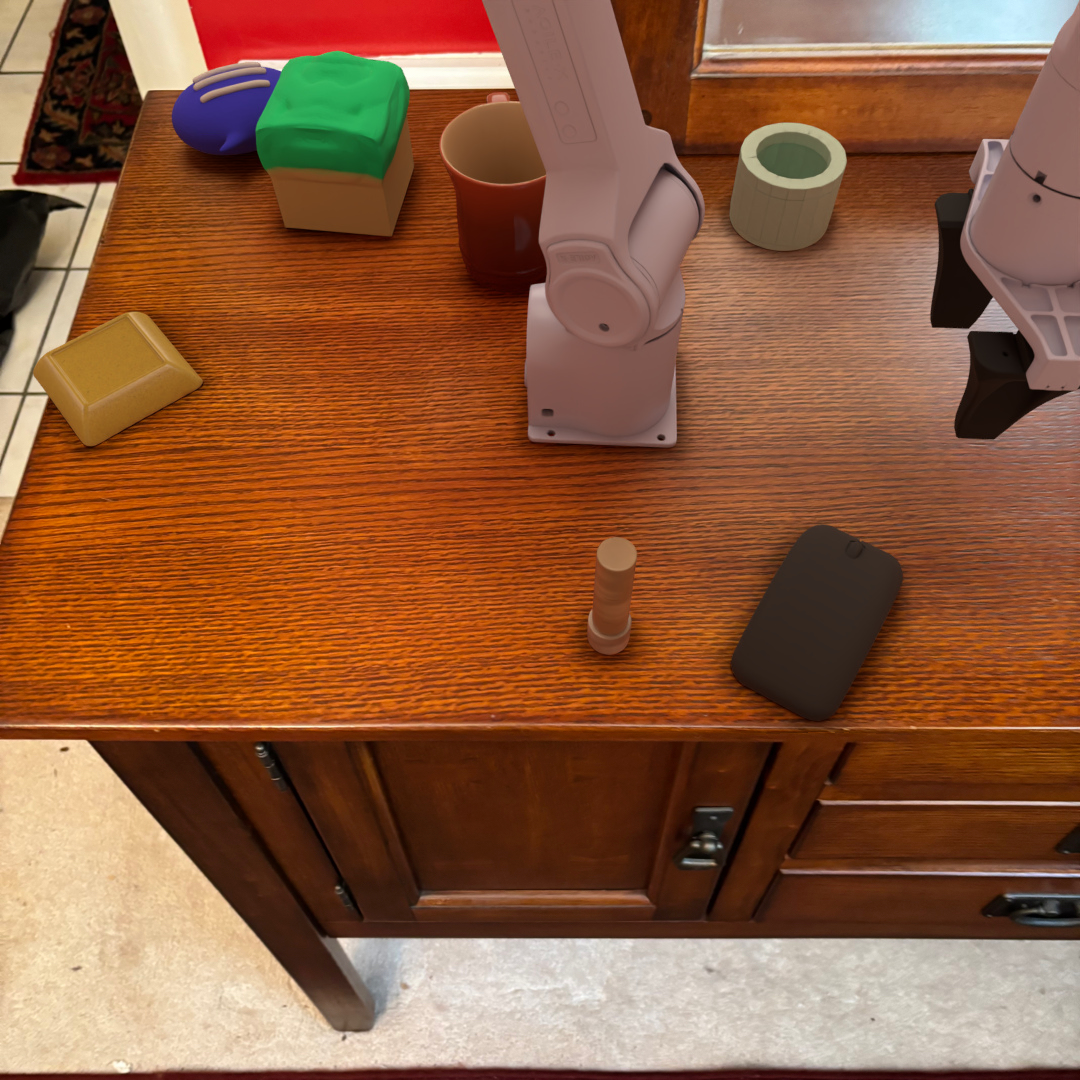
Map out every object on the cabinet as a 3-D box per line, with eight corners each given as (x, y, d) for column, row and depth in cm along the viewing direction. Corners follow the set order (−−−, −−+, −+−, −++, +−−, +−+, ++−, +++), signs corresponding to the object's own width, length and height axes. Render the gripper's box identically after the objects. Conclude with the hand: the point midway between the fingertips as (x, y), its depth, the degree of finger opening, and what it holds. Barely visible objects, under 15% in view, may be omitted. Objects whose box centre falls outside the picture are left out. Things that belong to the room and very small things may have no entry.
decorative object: (155, 99, 70) (163, 57, 77) (177, 179, 74) (183, 133, 81) (303, 86, 72) (297, 47, 79) (316, 165, 75) (310, 121, 83)
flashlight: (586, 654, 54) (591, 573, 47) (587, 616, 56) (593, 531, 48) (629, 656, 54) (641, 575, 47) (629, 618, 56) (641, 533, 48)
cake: (428, 153, 78) (412, 31, 69) (399, 244, 72) (379, 123, 64) (309, 144, 79) (280, 22, 70) (272, 233, 73) (235, 112, 64)
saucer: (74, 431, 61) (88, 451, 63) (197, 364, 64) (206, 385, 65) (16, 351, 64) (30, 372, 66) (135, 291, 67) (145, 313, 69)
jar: (731, 249, 72) (743, 187, 67) (727, 184, 76) (738, 120, 71) (832, 252, 71) (852, 190, 67) (823, 187, 75) (841, 123, 71)
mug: (579, 302, 69) (583, 179, 60) (456, 313, 69) (442, 191, 60) (559, 192, 75) (559, 67, 67) (446, 201, 75) (432, 77, 66)
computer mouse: (905, 576, 57) (928, 539, 53) (827, 730, 52) (846, 700, 48) (806, 528, 59) (821, 489, 55) (721, 672, 54) (732, 640, 50)
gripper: (1237, 282, 36) (1070, 491, 48) (1131, 55, 44) (1010, 282, 55) (1044, 277, 36) (925, 485, 48) (973, 51, 44) (885, 278, 56)
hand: (961, 376), depth 52 cm, fingers open, 7 cm apart
